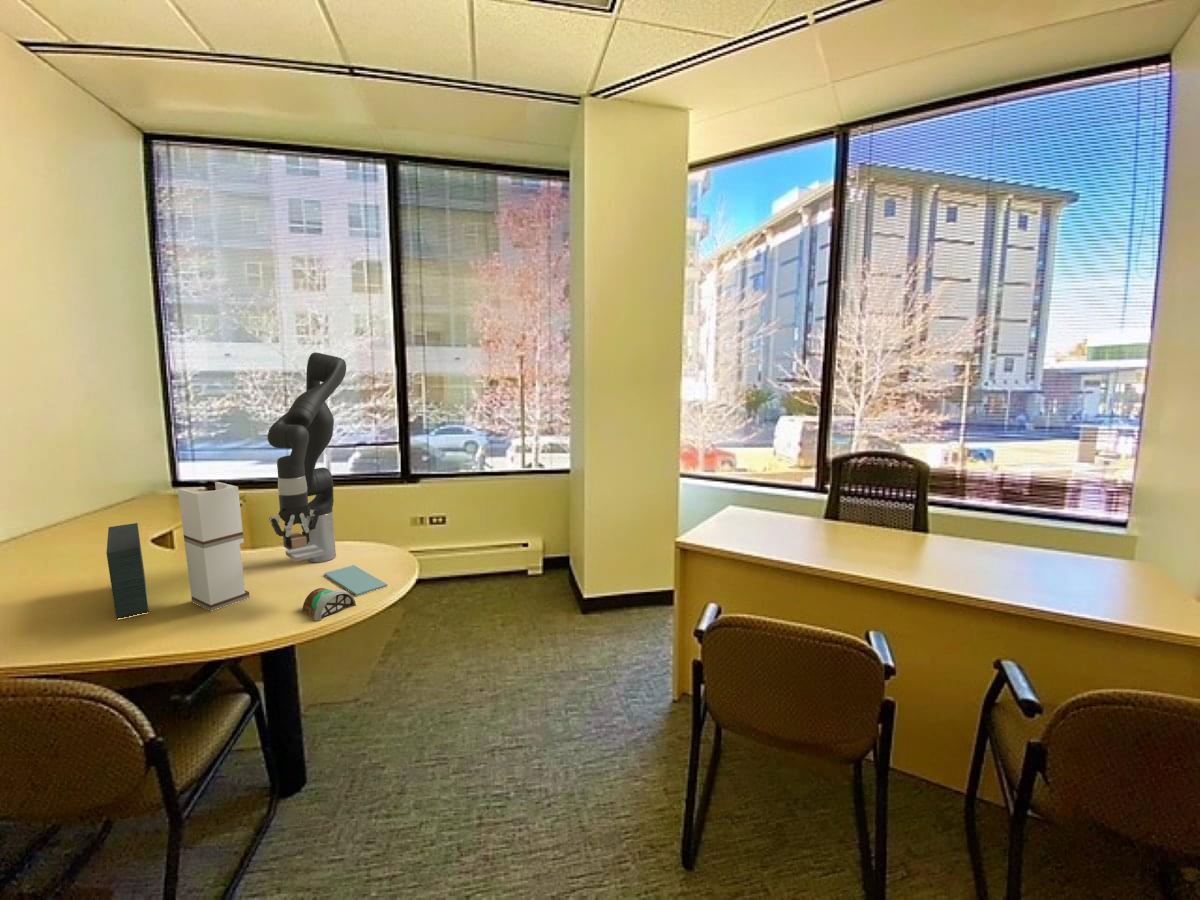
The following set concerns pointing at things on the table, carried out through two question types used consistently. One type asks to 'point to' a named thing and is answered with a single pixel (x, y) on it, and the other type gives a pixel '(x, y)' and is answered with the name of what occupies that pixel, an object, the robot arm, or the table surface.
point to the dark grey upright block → (126, 570)
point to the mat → (355, 580)
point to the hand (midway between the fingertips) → (297, 545)
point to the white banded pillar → (213, 545)
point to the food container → (326, 602)
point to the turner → (301, 548)
